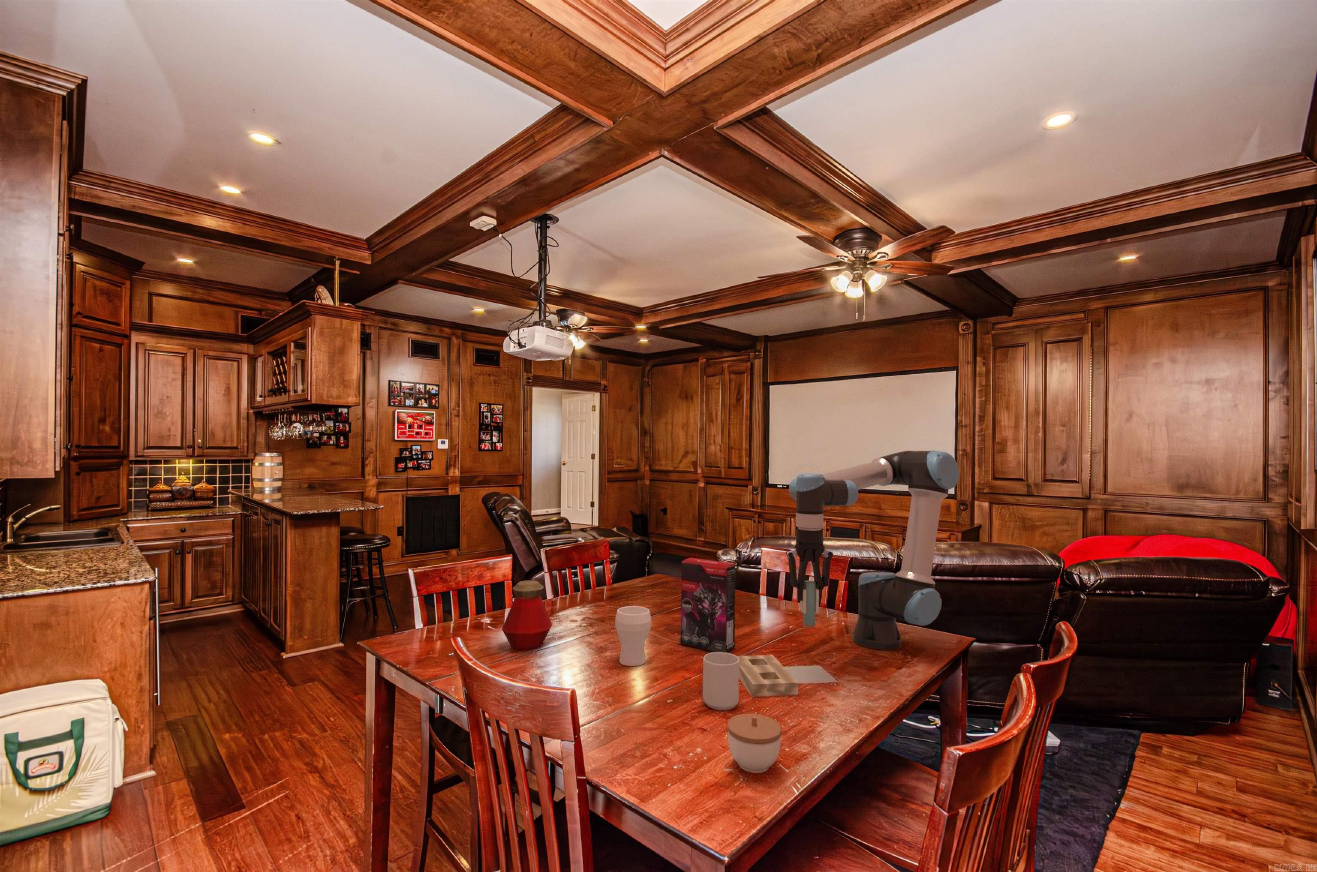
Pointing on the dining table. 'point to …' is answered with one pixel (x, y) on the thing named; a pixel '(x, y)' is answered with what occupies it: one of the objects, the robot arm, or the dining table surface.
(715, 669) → the mug
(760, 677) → the hole block
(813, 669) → the mat
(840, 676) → the dining table surface
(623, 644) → the cup
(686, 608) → the graphics card box
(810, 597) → the peg
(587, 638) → the dining table surface
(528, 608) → the bottle
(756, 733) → the lidded jar
